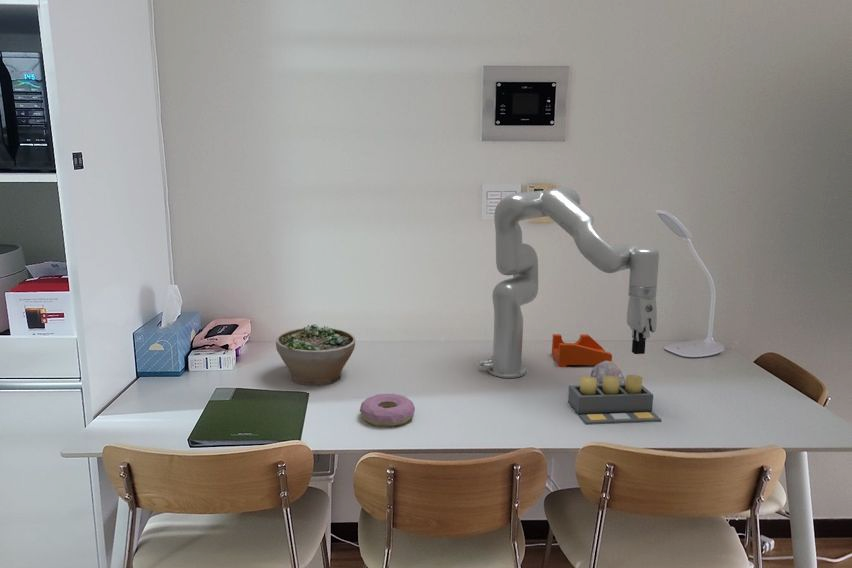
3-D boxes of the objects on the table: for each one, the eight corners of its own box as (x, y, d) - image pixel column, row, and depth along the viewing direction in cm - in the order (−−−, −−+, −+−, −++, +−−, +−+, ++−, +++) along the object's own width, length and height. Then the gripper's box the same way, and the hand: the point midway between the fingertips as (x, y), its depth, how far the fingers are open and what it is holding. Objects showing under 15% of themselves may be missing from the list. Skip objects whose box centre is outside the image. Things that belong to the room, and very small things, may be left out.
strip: (585, 424, 185) (585, 421, 185) (579, 416, 190) (579, 413, 190) (661, 421, 188) (661, 418, 187) (653, 414, 192) (653, 411, 192)
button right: (628, 396, 194) (630, 380, 193) (622, 390, 198) (623, 374, 197) (643, 396, 194) (645, 380, 193) (637, 390, 199) (638, 374, 198)
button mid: (605, 397, 193) (606, 381, 192) (599, 391, 198) (600, 375, 196) (620, 397, 194) (622, 380, 193) (614, 391, 198) (616, 375, 197)
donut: (355, 409, 193) (355, 393, 192) (407, 404, 197) (407, 388, 196) (366, 432, 178) (366, 415, 177) (421, 426, 183) (421, 409, 182)
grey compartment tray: (578, 415, 191) (579, 397, 190) (567, 402, 200) (569, 385, 198) (651, 412, 193) (653, 394, 192) (638, 400, 202) (639, 383, 201)
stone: (611, 411, 208) (636, 391, 206) (589, 389, 207) (614, 368, 205) (602, 391, 225) (626, 372, 222) (582, 370, 224) (606, 351, 221)
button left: (582, 398, 192) (583, 381, 191) (577, 392, 197) (578, 376, 196) (597, 397, 193) (599, 381, 192) (592, 391, 197) (593, 375, 196)
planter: (306, 359, 234) (305, 318, 230) (369, 371, 223) (369, 328, 220) (259, 383, 211) (257, 338, 208) (327, 397, 201) (326, 350, 197)
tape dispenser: (558, 368, 230) (560, 345, 228) (551, 356, 242) (552, 334, 241) (611, 368, 230) (612, 345, 229) (601, 356, 243) (602, 334, 241)
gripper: (667, 296, 183) (662, 360, 186) (643, 285, 197) (639, 345, 201) (641, 297, 182) (636, 362, 186) (619, 285, 196) (615, 345, 200)
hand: (638, 353), depth 193 cm, fingers closed
